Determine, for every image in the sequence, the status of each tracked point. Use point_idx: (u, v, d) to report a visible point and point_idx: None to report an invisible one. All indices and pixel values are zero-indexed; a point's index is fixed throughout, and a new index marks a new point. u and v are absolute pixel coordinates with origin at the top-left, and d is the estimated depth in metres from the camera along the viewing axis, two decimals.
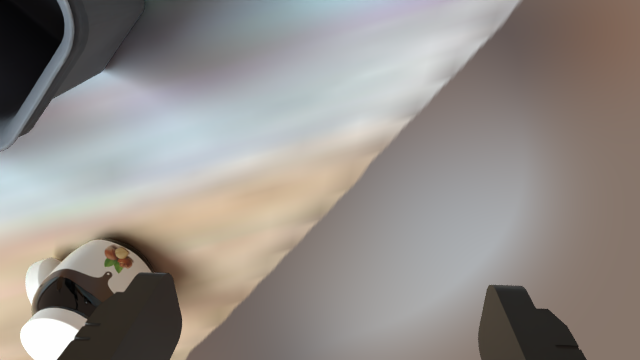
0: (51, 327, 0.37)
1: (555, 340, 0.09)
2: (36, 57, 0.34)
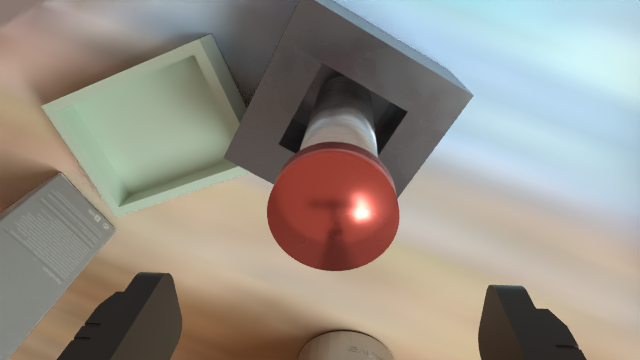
0: None
1: (555, 340, 0.09)
2: None
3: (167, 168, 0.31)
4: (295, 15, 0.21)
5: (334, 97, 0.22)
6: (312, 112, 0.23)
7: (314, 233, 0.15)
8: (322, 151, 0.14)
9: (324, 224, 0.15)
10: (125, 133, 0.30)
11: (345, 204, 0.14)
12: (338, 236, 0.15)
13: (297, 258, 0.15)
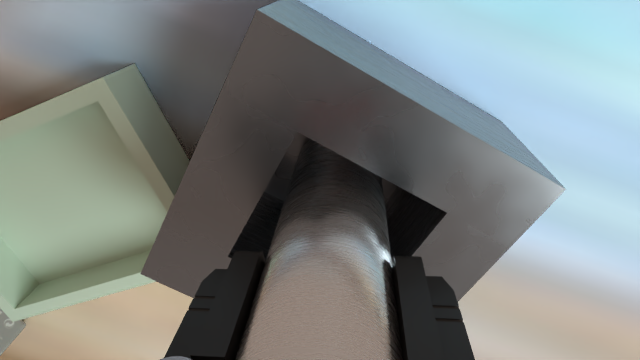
0: None
1: (439, 301, 0.10)
2: None
3: (86, 251, 0.22)
4: (244, 50, 0.11)
5: (319, 188, 0.13)
6: (282, 210, 0.13)
7: None
8: None
9: None
10: (20, 204, 0.21)
11: None
12: None
13: None
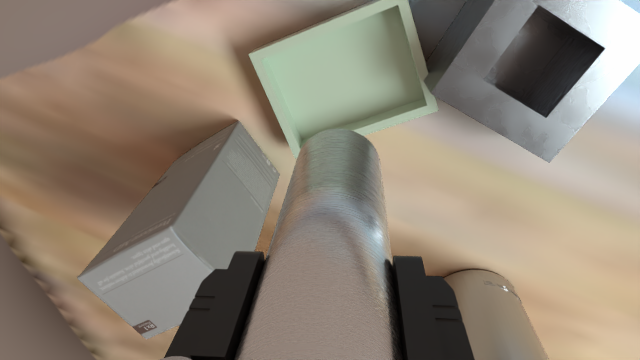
0: None
1: (439, 301, 0.10)
2: None
3: (340, 114, 0.35)
4: None
5: (319, 186, 0.13)
6: (282, 208, 0.13)
7: None
8: None
9: None
10: (308, 82, 0.34)
11: None
12: None
13: None
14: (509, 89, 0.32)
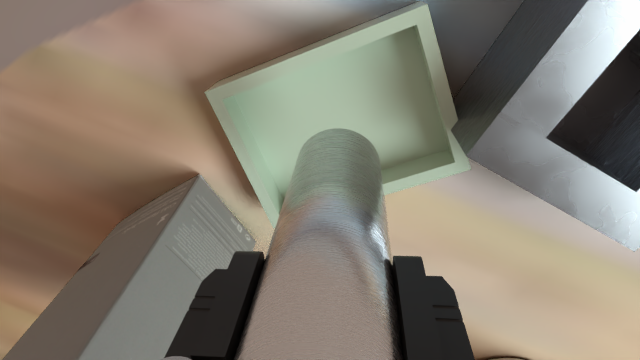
0: None
1: (439, 301, 0.10)
2: None
3: None
4: None
5: (319, 186, 0.13)
6: (282, 208, 0.13)
7: None
8: None
9: None
10: (290, 126, 0.25)
11: None
12: None
13: None
14: (568, 139, 0.23)
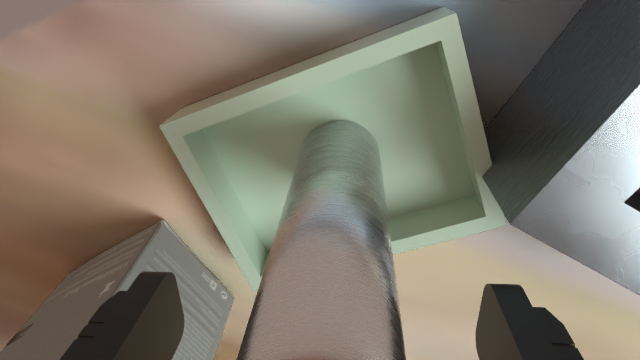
0: None
1: (551, 338, 0.09)
2: None
3: None
4: None
5: (324, 170, 0.14)
6: (289, 191, 0.14)
7: None
8: None
9: None
10: (274, 165, 0.20)
11: None
12: None
13: None
14: None
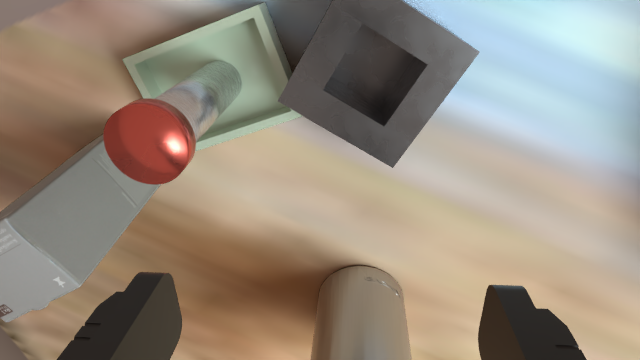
0: None
1: (555, 340, 0.09)
2: None
3: (219, 117, 0.37)
4: None
5: (193, 74, 0.30)
6: None
7: (136, 158, 0.23)
8: (134, 103, 0.22)
9: (141, 151, 0.23)
10: None
11: (151, 138, 0.23)
12: (151, 160, 0.23)
13: (128, 175, 0.24)
14: (370, 98, 0.35)
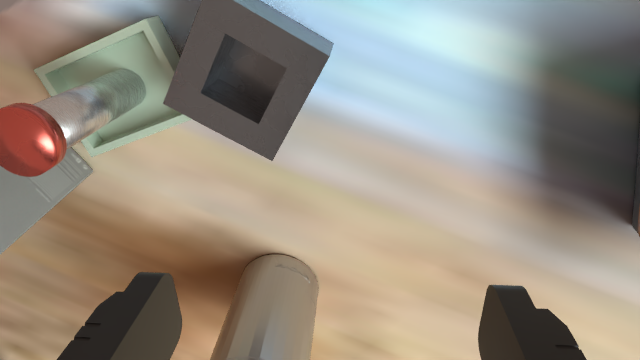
0: None
1: (555, 340, 0.09)
2: None
3: (130, 119, 0.41)
4: (203, 0, 0.30)
5: (88, 82, 0.34)
6: None
7: (11, 154, 0.27)
8: (5, 107, 0.26)
9: (14, 148, 0.27)
10: None
11: (21, 136, 0.26)
12: (24, 155, 0.27)
13: (7, 169, 0.28)
14: (259, 99, 0.39)
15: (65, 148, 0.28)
